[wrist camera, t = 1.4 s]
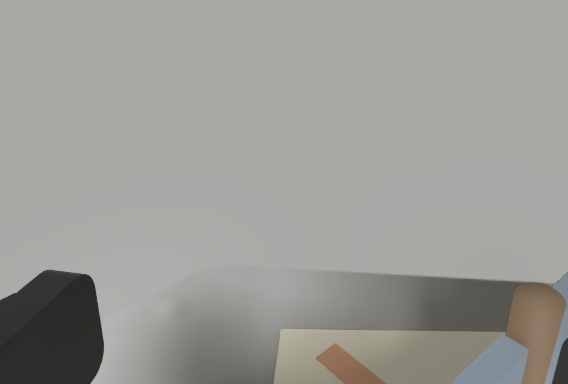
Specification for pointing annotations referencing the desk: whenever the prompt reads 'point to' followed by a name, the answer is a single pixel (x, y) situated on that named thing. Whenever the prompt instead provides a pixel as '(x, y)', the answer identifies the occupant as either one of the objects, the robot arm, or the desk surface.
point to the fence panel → (497, 364)
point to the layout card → (376, 356)
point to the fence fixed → (539, 326)
